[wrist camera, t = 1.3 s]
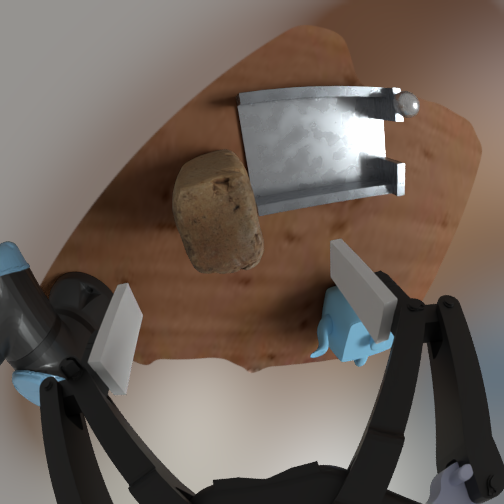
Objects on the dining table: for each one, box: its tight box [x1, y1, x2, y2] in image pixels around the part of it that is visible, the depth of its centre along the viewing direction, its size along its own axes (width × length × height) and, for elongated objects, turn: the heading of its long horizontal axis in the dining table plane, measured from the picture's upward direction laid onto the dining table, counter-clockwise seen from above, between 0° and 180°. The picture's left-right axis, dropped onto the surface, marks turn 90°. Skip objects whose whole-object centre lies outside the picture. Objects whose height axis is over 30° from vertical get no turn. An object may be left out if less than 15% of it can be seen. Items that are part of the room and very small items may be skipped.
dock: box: [236, 86, 420, 216], centre depth 34 cm, size 25×17×10 cm
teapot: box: [310, 286, 394, 366], centre depth 48 cm, size 18×16×14 cm
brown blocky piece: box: [172, 149, 264, 274], centre depth 31 cm, size 11×8×20 cm
